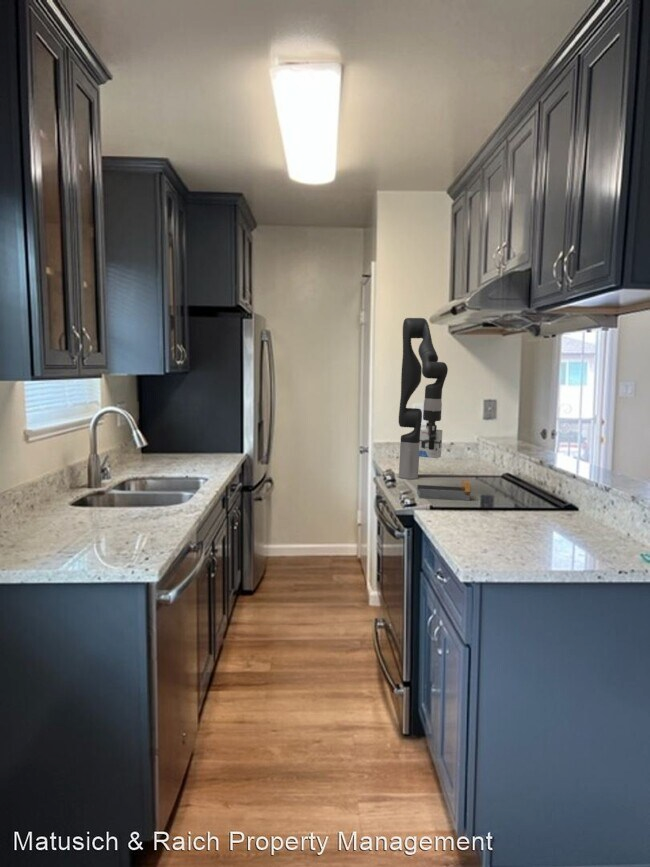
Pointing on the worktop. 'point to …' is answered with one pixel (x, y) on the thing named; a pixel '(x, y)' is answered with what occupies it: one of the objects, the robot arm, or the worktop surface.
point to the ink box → (424, 444)
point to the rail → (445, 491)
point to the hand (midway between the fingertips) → (430, 448)
